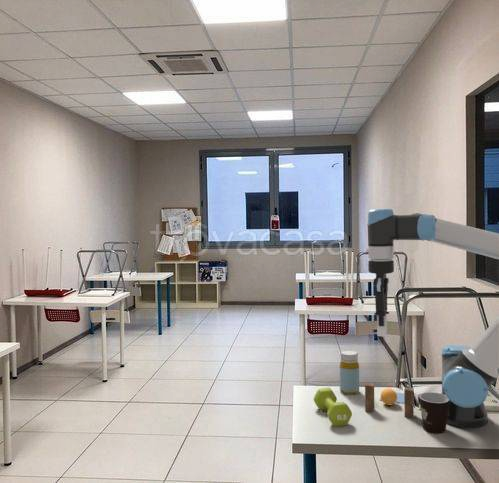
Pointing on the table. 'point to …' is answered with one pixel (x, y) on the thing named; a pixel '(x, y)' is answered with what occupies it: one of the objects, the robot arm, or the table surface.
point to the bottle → (349, 372)
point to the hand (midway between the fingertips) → (382, 335)
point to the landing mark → (399, 398)
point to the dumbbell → (332, 407)
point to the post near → (409, 401)
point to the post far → (369, 397)
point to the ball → (388, 396)
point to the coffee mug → (434, 411)
